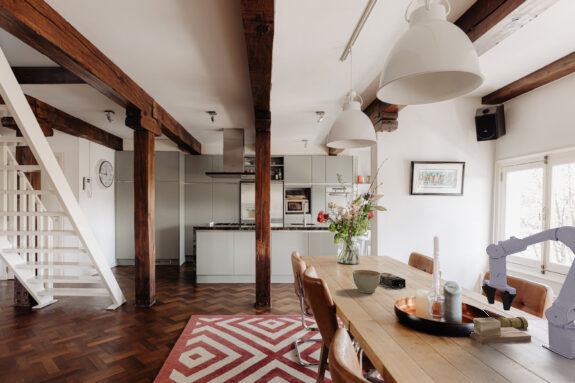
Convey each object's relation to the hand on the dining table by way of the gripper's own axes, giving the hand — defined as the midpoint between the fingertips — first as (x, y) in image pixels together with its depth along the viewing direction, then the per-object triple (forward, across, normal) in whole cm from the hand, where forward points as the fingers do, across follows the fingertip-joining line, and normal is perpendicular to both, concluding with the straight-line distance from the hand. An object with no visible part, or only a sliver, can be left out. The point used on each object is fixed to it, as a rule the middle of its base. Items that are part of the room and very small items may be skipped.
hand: (498, 307), depth 123 cm
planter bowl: (+10, -60, -32) cm, 69 cm away
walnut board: (+9, +6, -6) cm, 13 cm away
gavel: (+10, -10, +8) cm, 17 cm away
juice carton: (+10, -72, -11) cm, 74 cm away
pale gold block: (+7, +6, -11) cm, 14 cm away
